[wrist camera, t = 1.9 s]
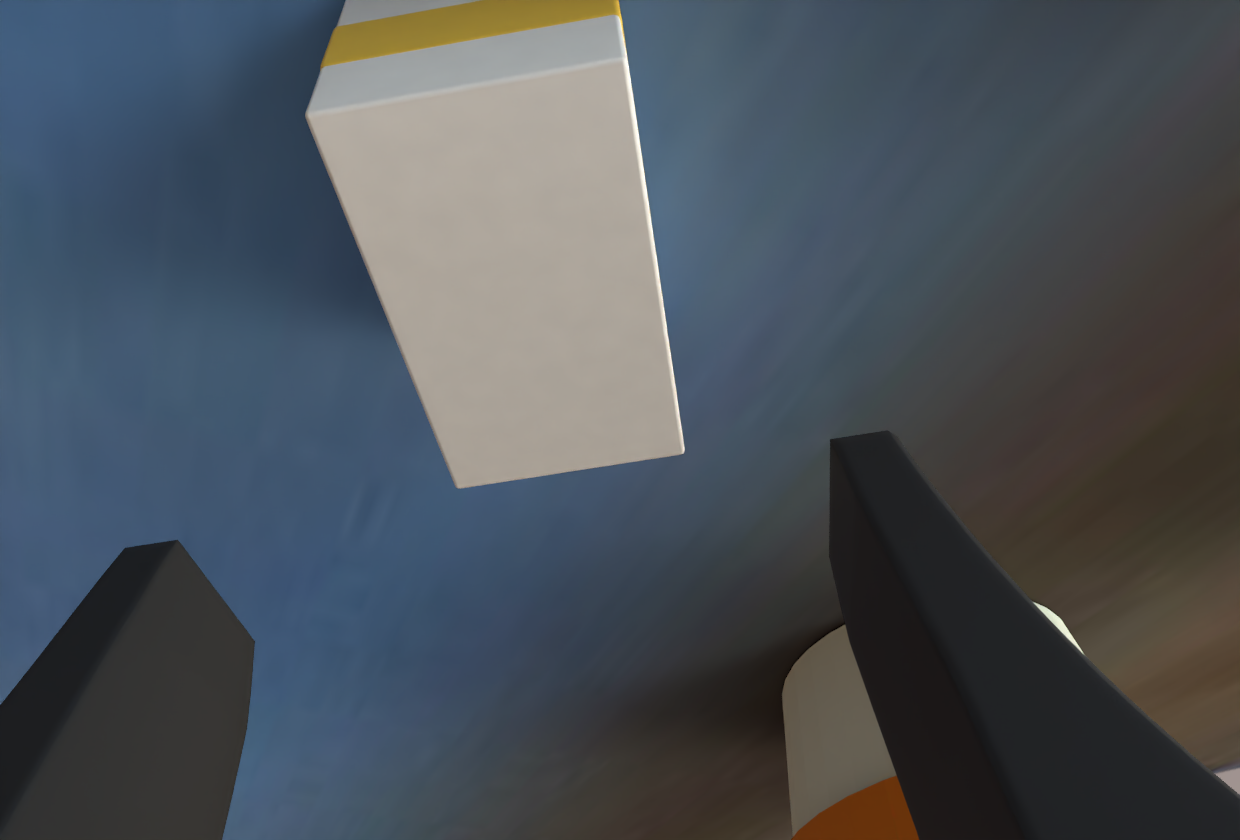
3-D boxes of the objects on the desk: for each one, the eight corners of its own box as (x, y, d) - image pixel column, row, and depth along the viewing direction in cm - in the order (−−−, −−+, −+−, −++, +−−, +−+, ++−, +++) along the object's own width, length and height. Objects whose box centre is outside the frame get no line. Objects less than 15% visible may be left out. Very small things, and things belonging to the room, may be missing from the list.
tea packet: (607, -58, 14) (629, 55, 11) (662, 312, 19) (686, 455, 16) (345, -9, 14) (300, 114, 12) (465, 344, 19) (454, 491, 16)
